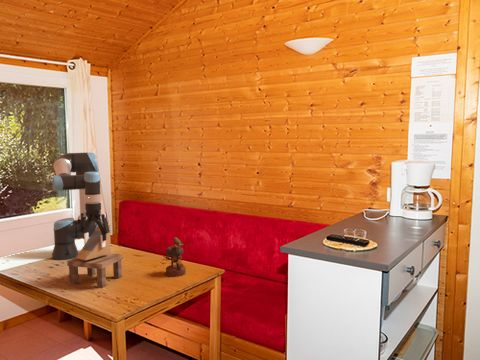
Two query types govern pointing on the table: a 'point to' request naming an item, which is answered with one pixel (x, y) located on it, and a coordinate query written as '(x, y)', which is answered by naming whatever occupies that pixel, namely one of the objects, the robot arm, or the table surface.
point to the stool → (96, 268)
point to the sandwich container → (95, 246)
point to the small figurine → (175, 260)
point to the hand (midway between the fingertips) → (95, 246)
